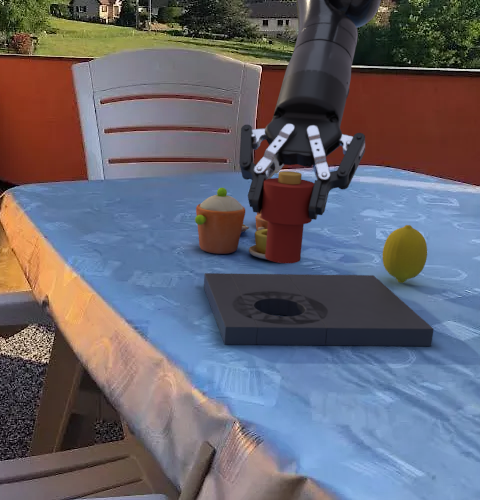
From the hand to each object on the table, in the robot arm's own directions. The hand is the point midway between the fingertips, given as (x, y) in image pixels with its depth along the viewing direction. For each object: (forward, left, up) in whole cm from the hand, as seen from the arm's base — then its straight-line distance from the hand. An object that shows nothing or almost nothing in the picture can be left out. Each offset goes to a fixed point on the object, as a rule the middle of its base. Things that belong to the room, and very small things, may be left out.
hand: (283, 211), depth 75 cm
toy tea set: (-4, -38, -14) cm, 40 cm away
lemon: (-21, -17, -14) cm, 30 cm away
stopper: (-1, -2, -6) cm, 6 cm away
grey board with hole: (-5, -5, -13) cm, 15 cm away
